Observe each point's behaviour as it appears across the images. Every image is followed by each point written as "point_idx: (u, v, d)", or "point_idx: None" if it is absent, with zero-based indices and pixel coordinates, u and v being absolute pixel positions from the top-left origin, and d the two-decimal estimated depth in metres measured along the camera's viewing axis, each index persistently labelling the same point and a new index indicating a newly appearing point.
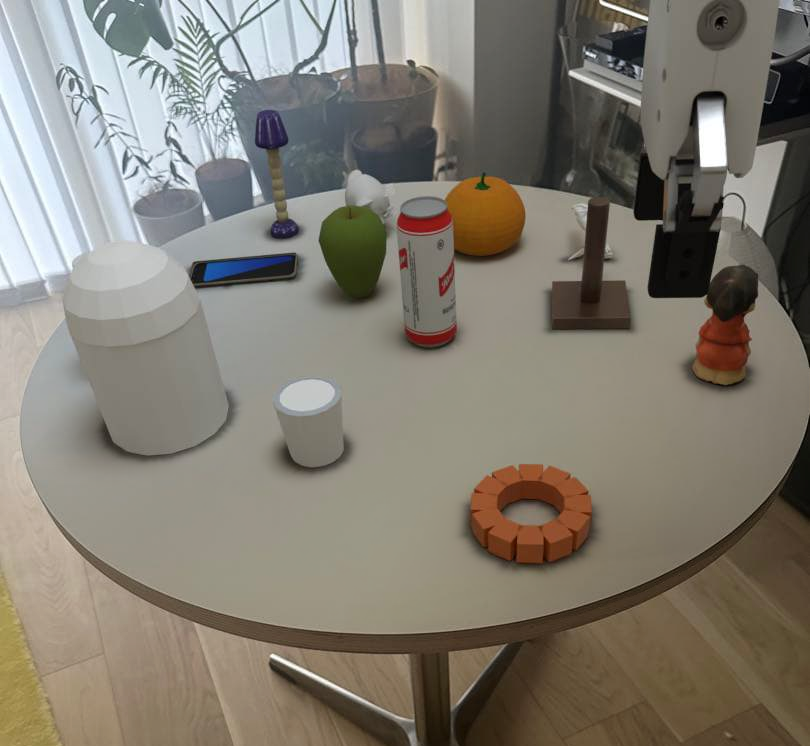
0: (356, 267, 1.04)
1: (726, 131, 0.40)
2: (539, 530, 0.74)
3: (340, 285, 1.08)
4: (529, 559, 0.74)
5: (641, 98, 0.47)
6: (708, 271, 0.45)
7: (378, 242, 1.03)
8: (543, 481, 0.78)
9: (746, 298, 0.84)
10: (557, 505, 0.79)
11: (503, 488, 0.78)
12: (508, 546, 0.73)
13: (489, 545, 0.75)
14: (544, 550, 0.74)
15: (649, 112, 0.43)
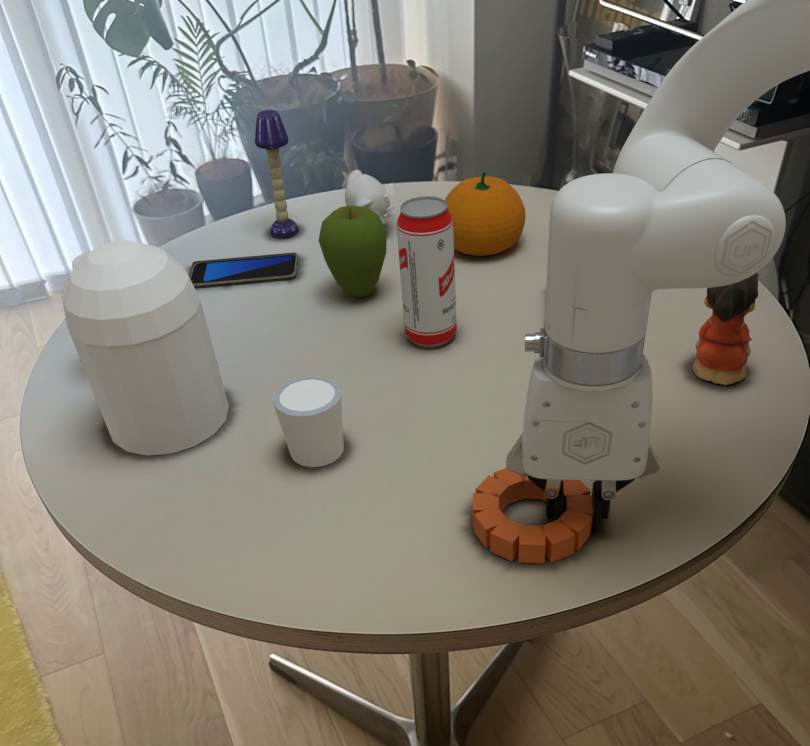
0: (356, 267, 1.04)
1: (522, 442, 0.70)
2: (542, 530, 0.74)
3: (340, 285, 1.08)
4: (531, 559, 0.74)
5: None
6: (554, 519, 0.76)
7: (378, 242, 1.03)
8: None
9: (746, 298, 0.85)
10: None
11: (505, 488, 0.78)
12: (510, 546, 0.73)
13: (491, 545, 0.75)
14: (546, 550, 0.74)
15: None
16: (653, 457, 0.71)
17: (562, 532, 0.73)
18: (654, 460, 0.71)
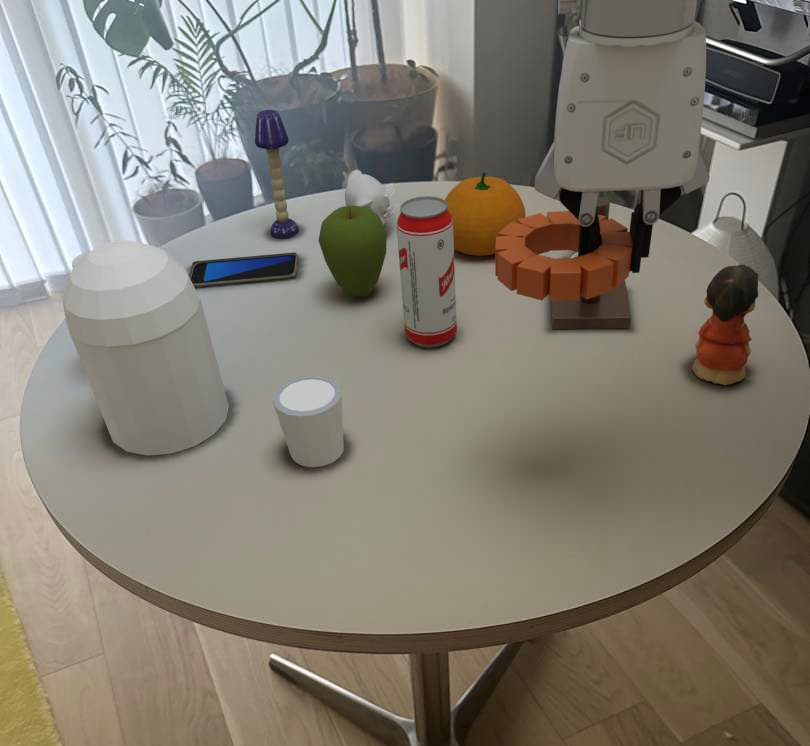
0: (356, 267, 1.04)
1: (554, 146, 0.62)
2: (575, 261, 0.65)
3: (340, 285, 1.08)
4: (564, 295, 0.65)
5: None
6: None
7: (378, 242, 1.03)
8: (576, 223, 0.70)
9: (746, 298, 0.85)
10: None
11: (531, 231, 0.69)
12: (541, 278, 0.65)
13: (518, 284, 0.66)
14: (581, 286, 0.66)
15: None
16: (703, 162, 0.62)
17: (599, 261, 0.65)
18: (704, 167, 0.62)
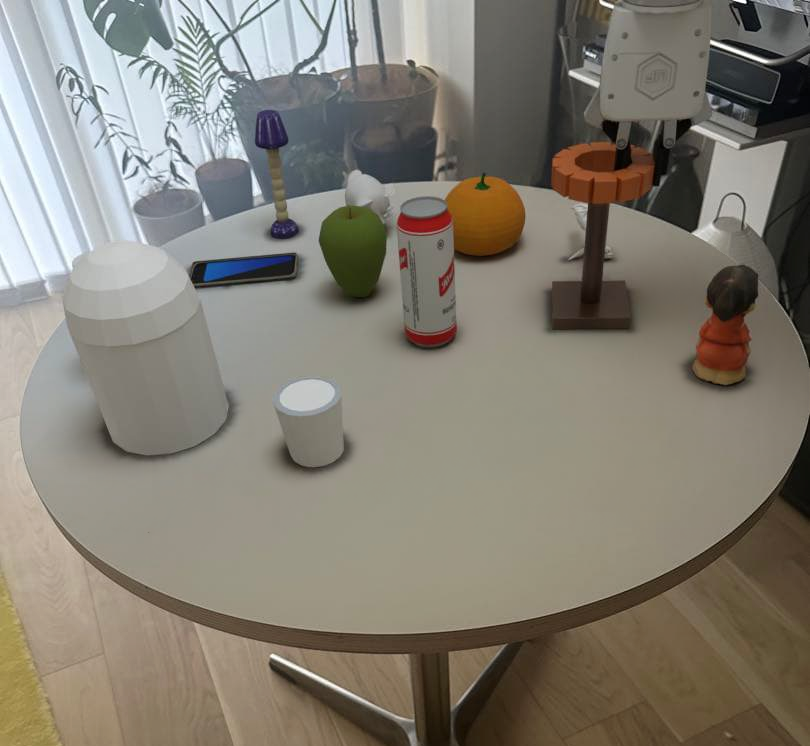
0: (356, 267, 1.04)
1: (600, 87, 0.85)
2: (613, 174, 0.89)
3: (340, 285, 1.08)
4: (604, 199, 0.89)
5: None
6: None
7: (378, 242, 1.03)
8: (612, 150, 0.93)
9: (746, 298, 0.85)
10: None
11: (579, 155, 0.93)
12: (587, 186, 0.88)
13: (569, 191, 0.90)
14: (616, 192, 0.89)
15: None
16: (708, 101, 0.86)
17: (630, 174, 0.88)
18: (708, 104, 0.86)
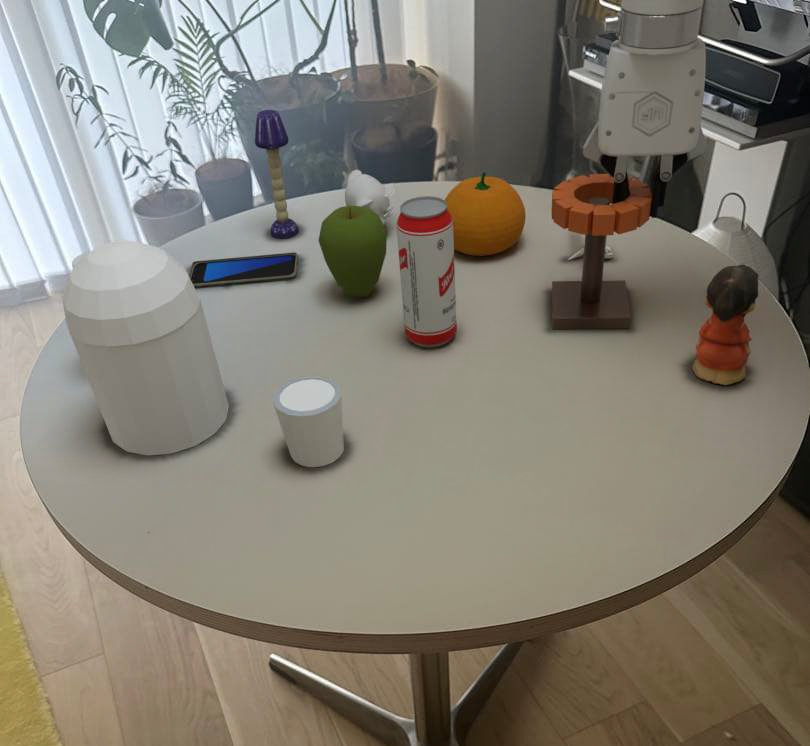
0: (356, 267, 1.04)
1: (598, 124, 0.88)
2: (611, 206, 0.91)
3: (340, 285, 1.08)
4: (602, 231, 0.91)
5: None
6: None
7: (378, 242, 1.03)
8: (610, 182, 0.96)
9: (746, 298, 0.85)
10: None
11: (578, 187, 0.95)
12: (586, 218, 0.91)
13: (569, 223, 0.92)
14: (614, 224, 0.92)
15: None
16: (703, 136, 0.88)
17: (628, 207, 0.91)
18: (704, 140, 0.88)
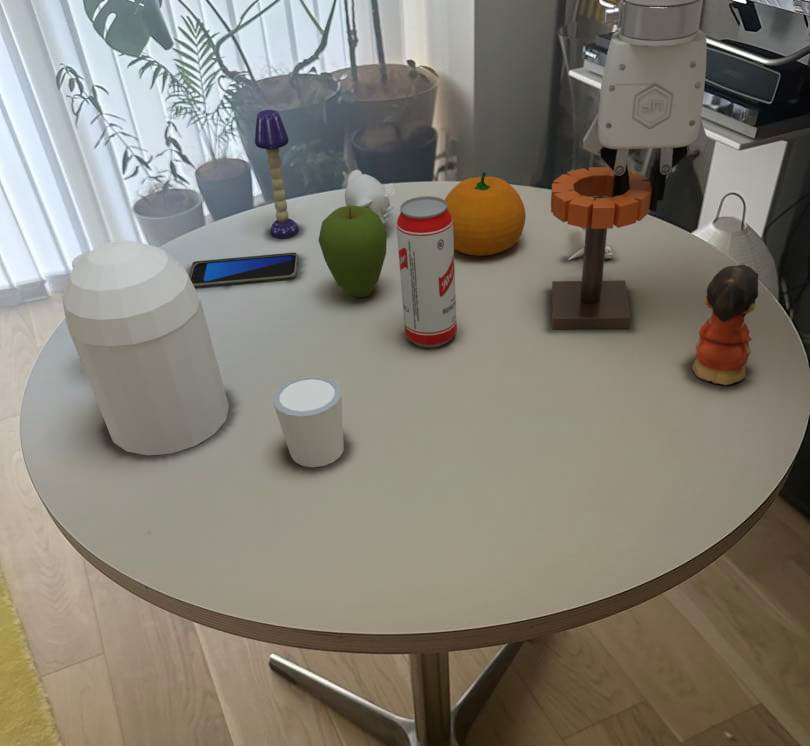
0: (356, 267, 1.04)
1: (598, 116, 0.87)
2: (611, 200, 0.91)
3: (340, 285, 1.08)
4: (602, 224, 0.91)
5: None
6: None
7: (378, 242, 1.03)
8: (610, 175, 0.95)
9: (746, 298, 0.85)
10: None
11: (577, 180, 0.95)
12: (586, 211, 0.90)
13: (568, 216, 0.92)
14: (614, 218, 0.91)
15: None
16: (703, 129, 0.87)
17: (628, 200, 0.90)
18: (704, 133, 0.88)
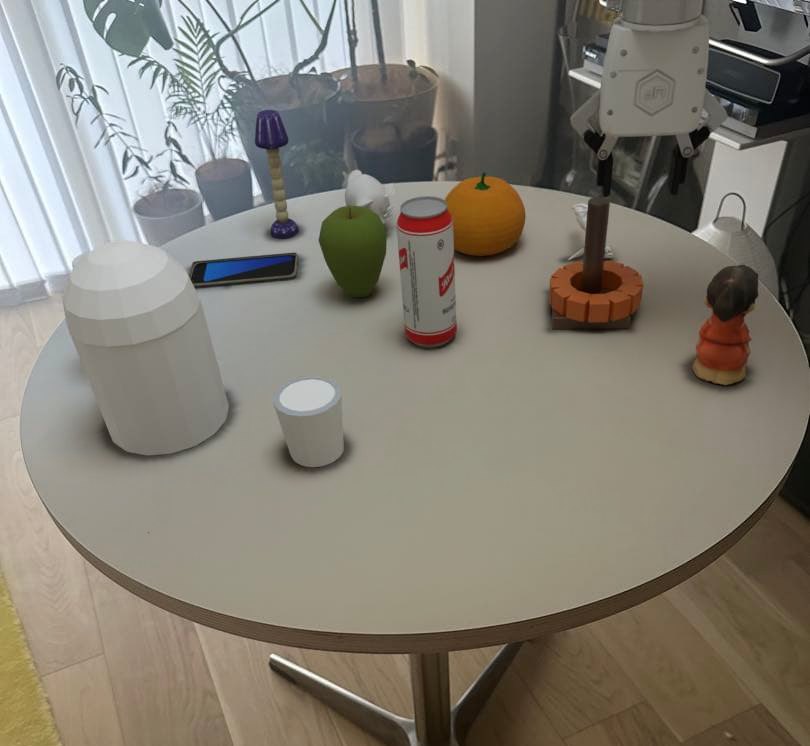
0: (356, 267, 1.04)
1: (599, 103, 0.86)
2: (605, 296, 0.98)
3: (340, 285, 1.08)
4: (598, 318, 0.98)
5: None
6: (604, 183, 0.92)
7: (378, 242, 1.03)
8: (603, 269, 1.03)
9: (746, 298, 0.85)
10: (614, 287, 1.03)
11: (573, 274, 1.02)
12: (583, 307, 0.98)
13: (567, 311, 0.99)
14: (609, 312, 0.99)
15: None
16: (718, 105, 0.86)
17: (621, 296, 0.98)
18: (720, 108, 0.86)
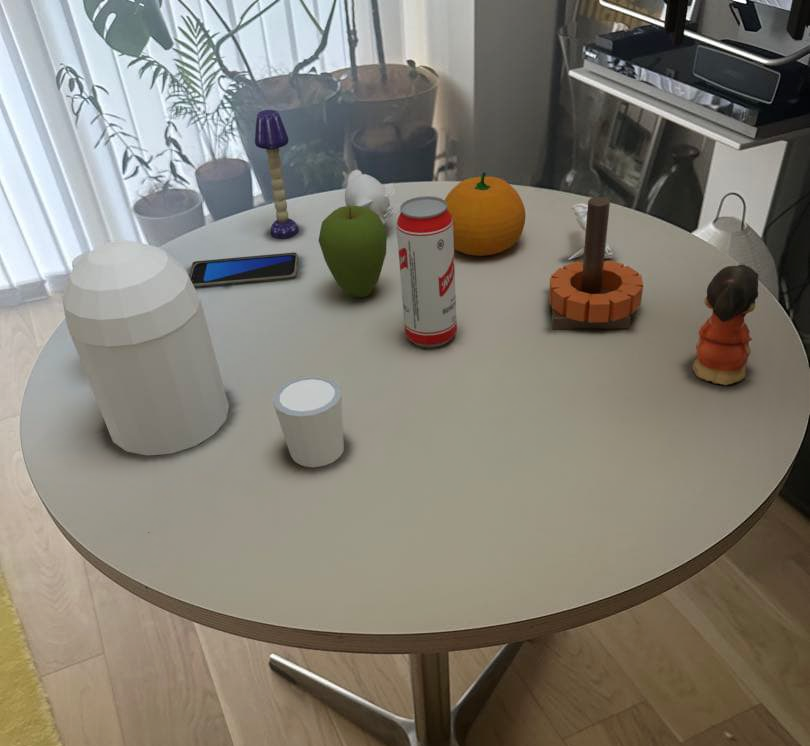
0: (356, 267, 1.04)
1: None
2: (605, 296, 0.98)
3: (340, 285, 1.08)
4: (598, 318, 0.98)
5: None
6: (676, 26, 0.70)
7: (378, 242, 1.03)
8: (603, 269, 1.03)
9: (746, 298, 0.85)
10: (614, 287, 1.03)
11: (573, 274, 1.02)
12: (583, 307, 0.98)
13: (567, 311, 0.99)
14: (609, 312, 0.99)
15: None
16: None
17: (621, 296, 0.98)
18: None
